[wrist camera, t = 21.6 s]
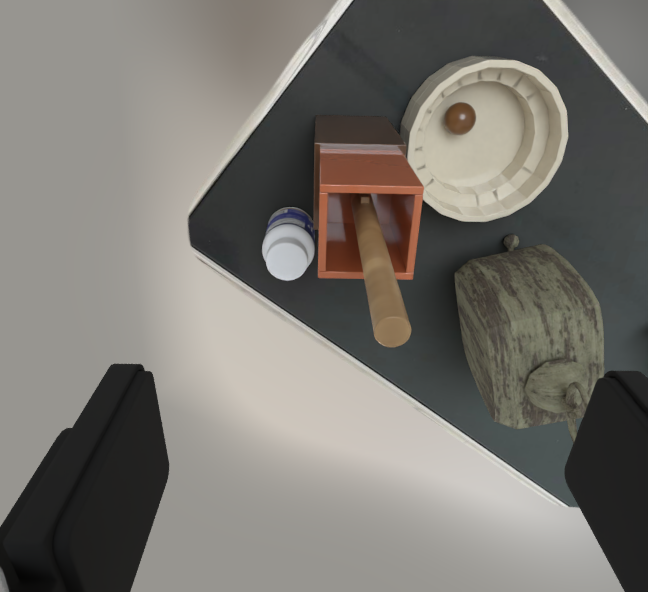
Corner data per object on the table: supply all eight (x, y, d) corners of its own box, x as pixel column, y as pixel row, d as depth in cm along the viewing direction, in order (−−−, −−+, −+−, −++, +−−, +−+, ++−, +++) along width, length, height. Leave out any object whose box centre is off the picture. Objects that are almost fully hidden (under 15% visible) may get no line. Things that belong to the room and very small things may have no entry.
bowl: (406, 53, 46) (417, 57, 41) (557, 57, 46) (587, 62, 41) (392, 200, 53) (400, 220, 48) (523, 203, 53) (546, 223, 48)
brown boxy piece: (315, 114, 49) (312, 177, 29) (386, 116, 49) (431, 180, 29) (314, 184, 52) (311, 283, 32) (380, 185, 52) (418, 285, 32)
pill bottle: (313, 252, 56) (312, 289, 48) (267, 249, 56) (258, 286, 48) (316, 206, 53) (315, 238, 45) (267, 204, 53) (258, 235, 45)
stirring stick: (348, 207, 39) (372, 355, 22) (349, 177, 38) (375, 308, 20) (369, 206, 39) (409, 355, 22) (370, 176, 38) (414, 308, 21)
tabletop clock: (529, 327, 61) (646, 497, 39) (456, 342, 62) (530, 516, 40) (524, 218, 54) (662, 351, 32) (441, 237, 55) (521, 378, 33)
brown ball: (488, 119, 46) (470, 127, 49) (471, 91, 46) (454, 101, 48) (465, 137, 46) (448, 145, 48) (448, 109, 45) (432, 118, 48)
